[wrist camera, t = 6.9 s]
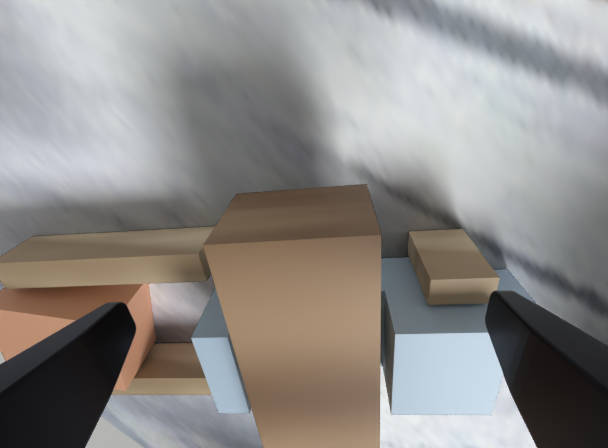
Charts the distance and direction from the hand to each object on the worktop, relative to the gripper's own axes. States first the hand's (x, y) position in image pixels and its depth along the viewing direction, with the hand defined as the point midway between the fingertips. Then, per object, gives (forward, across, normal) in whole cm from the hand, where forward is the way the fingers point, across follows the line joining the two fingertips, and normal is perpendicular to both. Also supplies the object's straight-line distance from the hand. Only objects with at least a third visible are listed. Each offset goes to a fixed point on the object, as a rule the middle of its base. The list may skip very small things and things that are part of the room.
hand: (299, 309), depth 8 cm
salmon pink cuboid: (+5, +10, +4) cm, 12 cm away
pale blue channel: (+5, -2, +4) cm, 7 cm away
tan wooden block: (+3, 0, +4) cm, 5 cm away
